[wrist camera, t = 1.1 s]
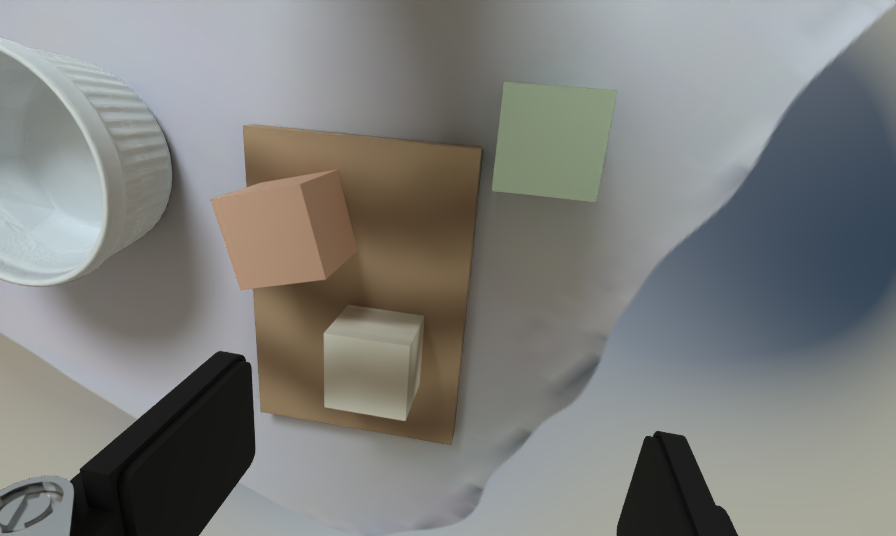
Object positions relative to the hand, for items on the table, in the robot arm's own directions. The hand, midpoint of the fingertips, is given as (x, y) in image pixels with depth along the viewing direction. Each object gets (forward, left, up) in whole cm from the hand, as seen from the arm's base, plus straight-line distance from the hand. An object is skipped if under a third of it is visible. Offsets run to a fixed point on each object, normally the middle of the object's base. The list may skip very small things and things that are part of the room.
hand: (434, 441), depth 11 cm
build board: (+5, -8, -19) cm, 22 cm away
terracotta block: (0, -11, -18) cm, 21 cm away
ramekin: (-2, -26, -20) cm, 33 cm away
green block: (-6, +2, -20) cm, 20 cm away
